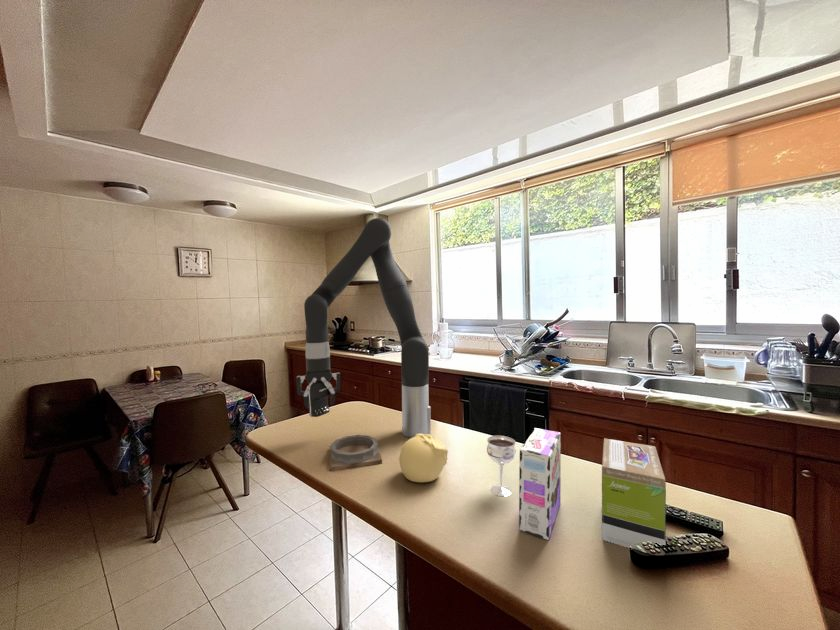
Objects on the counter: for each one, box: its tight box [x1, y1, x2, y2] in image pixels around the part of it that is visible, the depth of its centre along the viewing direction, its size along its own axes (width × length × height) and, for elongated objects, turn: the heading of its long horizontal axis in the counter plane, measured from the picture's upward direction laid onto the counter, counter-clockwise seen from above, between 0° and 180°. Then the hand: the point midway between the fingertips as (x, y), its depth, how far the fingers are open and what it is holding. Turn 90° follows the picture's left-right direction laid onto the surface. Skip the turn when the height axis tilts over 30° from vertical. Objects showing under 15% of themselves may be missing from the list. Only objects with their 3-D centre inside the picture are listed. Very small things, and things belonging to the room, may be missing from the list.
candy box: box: [518, 427, 562, 541], centre depth 69 cm, size 14×6×16 cm, turn 148°
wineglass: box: [486, 435, 517, 497], centre depth 78 cm, size 7×7×12 cm
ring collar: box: [329, 434, 383, 471], centre depth 97 cm, size 14×14×4 cm
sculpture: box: [398, 433, 449, 483], centre depth 85 cm, size 11×12×11 cm
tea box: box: [601, 437, 667, 549], centre depth 65 cm, size 15×10×15 cm, turn 150°
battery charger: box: [307, 381, 331, 418], centre depth 107 cm, size 7×4×11 cm, turn 148°
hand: (319, 405), depth 107 cm, fingers closed on battery charger, 7 cm apart
